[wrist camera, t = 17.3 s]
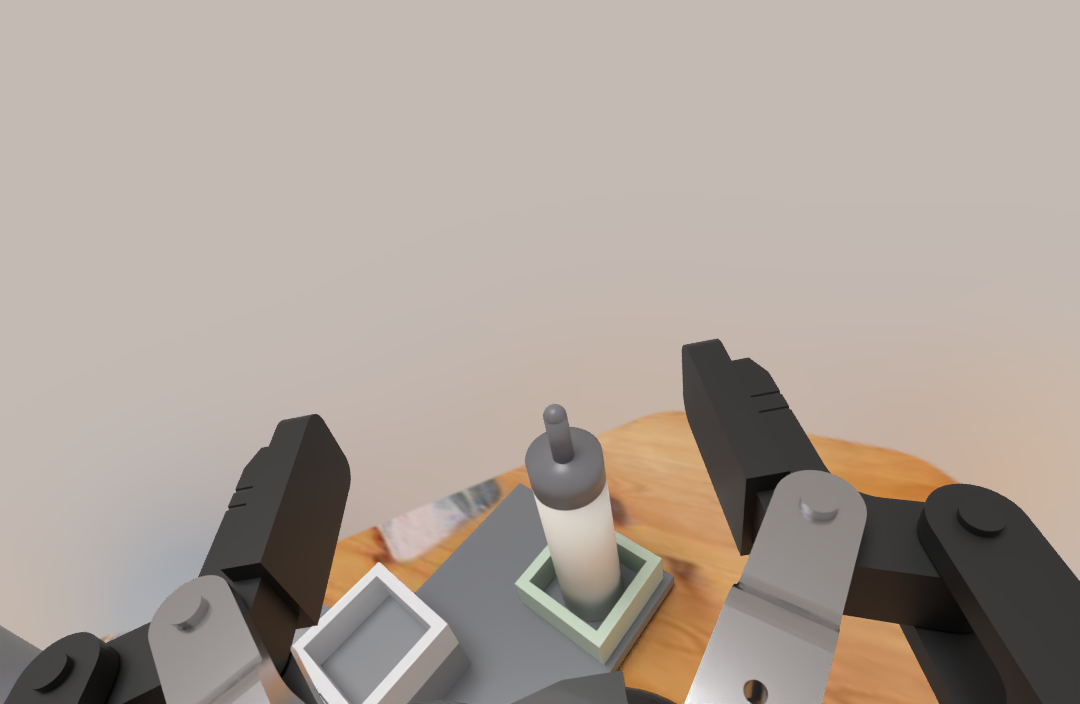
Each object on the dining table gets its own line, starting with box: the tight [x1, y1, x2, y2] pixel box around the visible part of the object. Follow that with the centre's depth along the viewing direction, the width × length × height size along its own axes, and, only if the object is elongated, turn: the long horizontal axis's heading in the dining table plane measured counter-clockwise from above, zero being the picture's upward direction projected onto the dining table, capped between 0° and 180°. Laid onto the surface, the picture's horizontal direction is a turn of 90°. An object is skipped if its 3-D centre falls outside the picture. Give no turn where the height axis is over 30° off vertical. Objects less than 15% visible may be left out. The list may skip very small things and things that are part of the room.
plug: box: [525, 404, 623, 621], centre depth 34 cm, size 4×4×18 cm
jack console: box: [293, 483, 674, 704], centre depth 37 cm, size 20×14×6 cm
